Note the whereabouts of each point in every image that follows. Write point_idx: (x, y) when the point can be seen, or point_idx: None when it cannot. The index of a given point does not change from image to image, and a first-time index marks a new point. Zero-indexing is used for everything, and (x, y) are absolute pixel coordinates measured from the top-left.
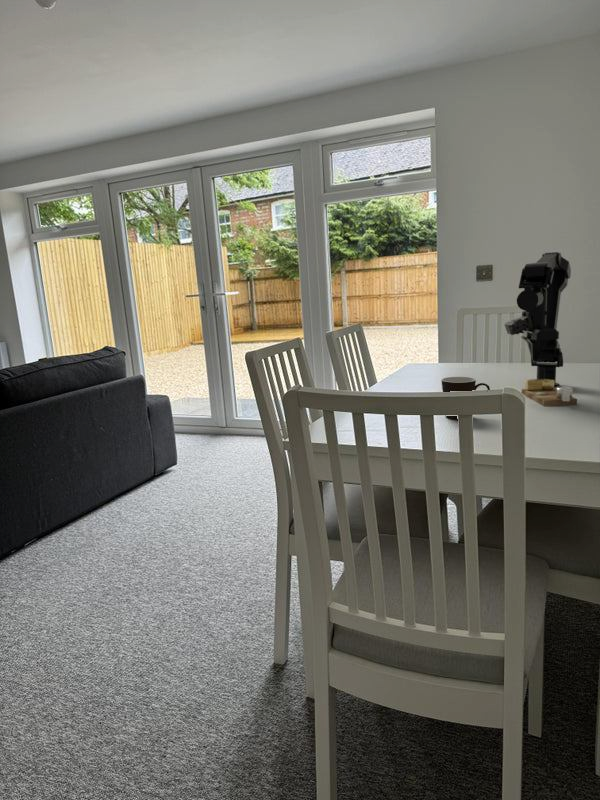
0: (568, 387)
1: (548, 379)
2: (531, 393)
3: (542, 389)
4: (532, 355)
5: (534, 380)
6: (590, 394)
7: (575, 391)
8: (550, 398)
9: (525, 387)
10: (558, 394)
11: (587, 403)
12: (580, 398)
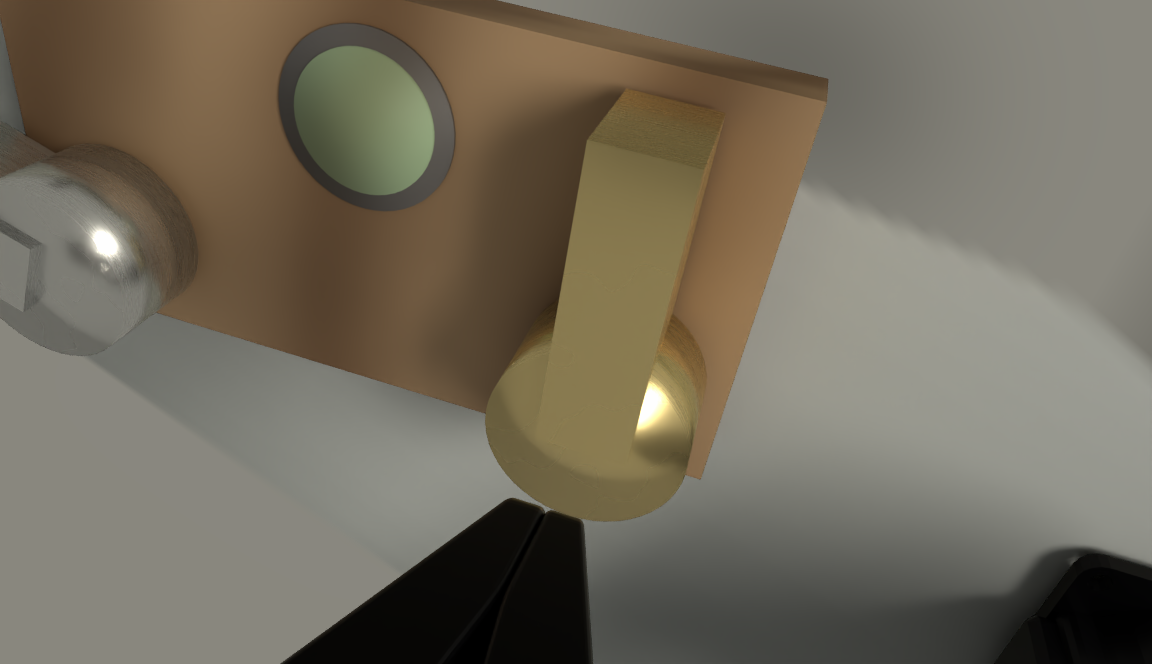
0: (57, 324)
1: (635, 493)
2: (437, 23)
3: None
4: (420, 584)
5: (570, 252)
6: None
7: (653, 621)
8: (96, 58)
9: (719, 119)
10: (51, 155)
11: (145, 360)
12: (349, 451)
